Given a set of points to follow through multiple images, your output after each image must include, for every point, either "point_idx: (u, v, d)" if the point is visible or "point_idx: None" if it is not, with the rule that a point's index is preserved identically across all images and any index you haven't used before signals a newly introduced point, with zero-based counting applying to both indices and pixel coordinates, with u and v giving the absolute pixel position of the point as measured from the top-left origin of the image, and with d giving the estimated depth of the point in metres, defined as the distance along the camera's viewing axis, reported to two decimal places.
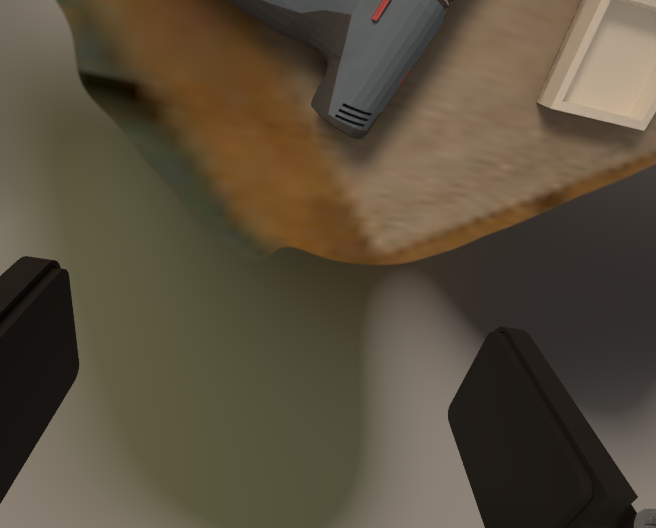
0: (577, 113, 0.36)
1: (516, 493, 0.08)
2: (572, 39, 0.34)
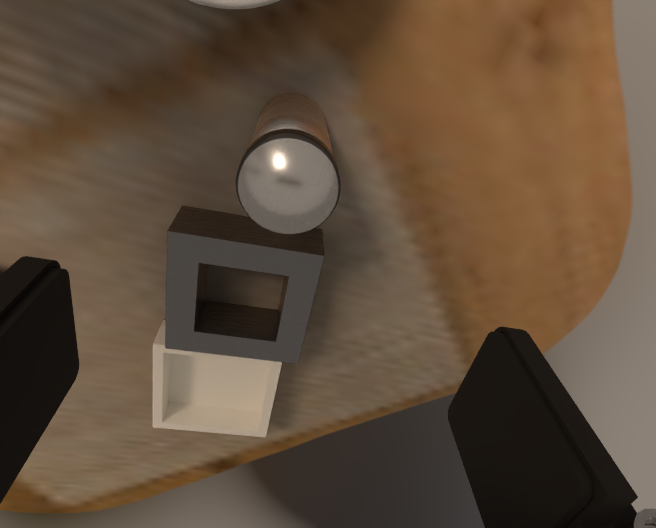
0: (184, 429, 0.34)
1: (517, 494, 0.08)
2: None
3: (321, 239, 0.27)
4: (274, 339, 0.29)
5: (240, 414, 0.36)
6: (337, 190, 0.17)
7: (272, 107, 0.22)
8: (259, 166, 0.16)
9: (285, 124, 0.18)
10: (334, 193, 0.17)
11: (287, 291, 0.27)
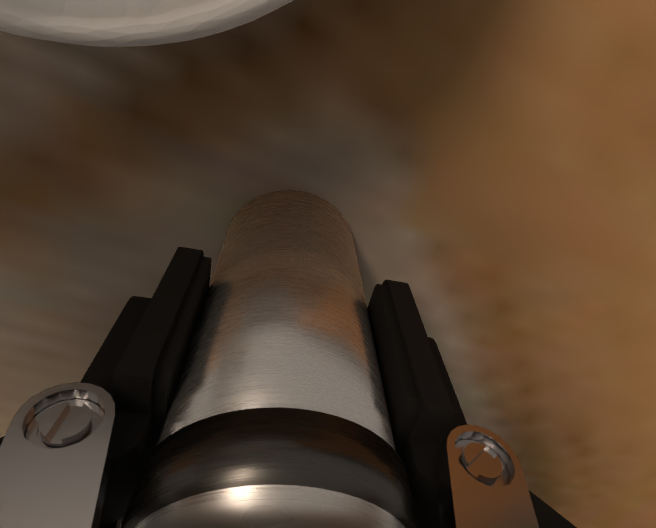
0: None
1: None
2: None
3: None
4: None
5: None
6: None
7: (247, 237, 0.10)
8: None
9: (266, 356, 0.07)
10: None
11: None
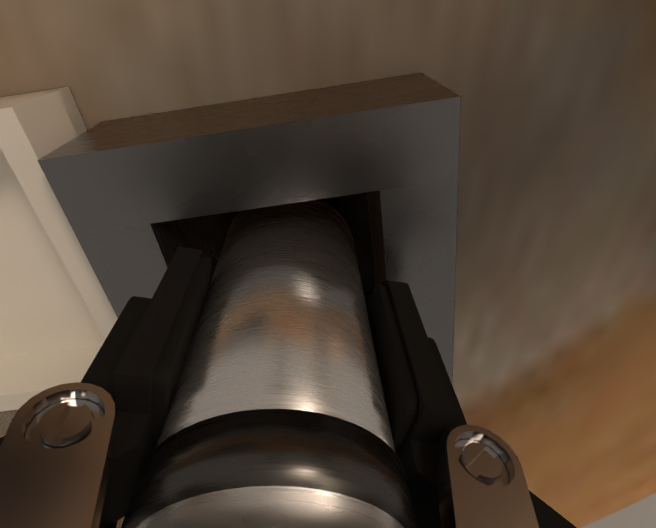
0: None
1: None
2: None
3: None
4: None
5: None
6: None
7: (246, 238, 0.10)
8: None
9: (265, 357, 0.07)
10: None
11: None
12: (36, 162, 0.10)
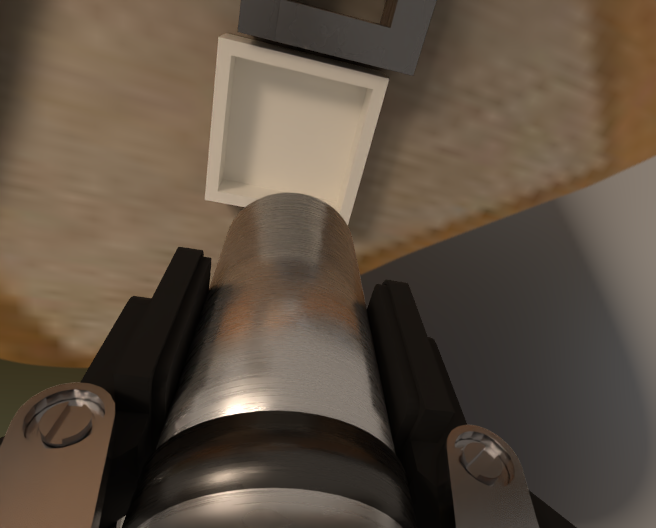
0: (245, 205, 0.26)
1: None
2: None
3: None
4: (387, 27, 0.21)
5: None
6: None
7: (246, 239, 0.10)
8: None
9: (265, 359, 0.07)
10: None
11: None
12: (243, 45, 0.22)
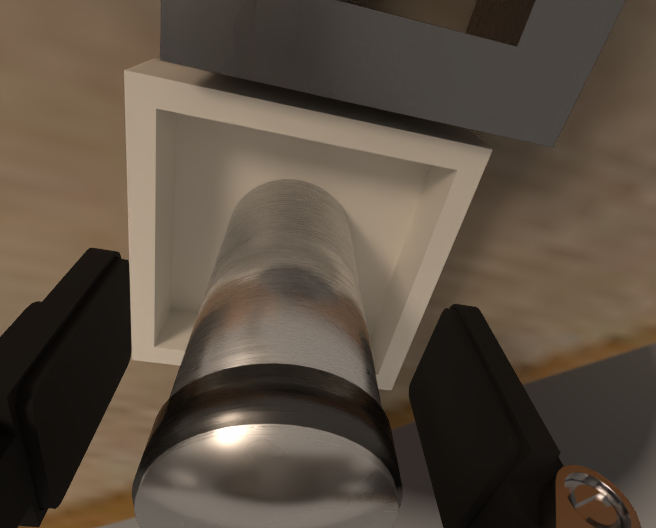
0: None
1: (460, 458, 0.08)
2: None
3: None
4: (507, 44, 0.09)
5: None
6: None
7: (248, 222, 0.11)
8: (188, 484, 0.06)
9: (265, 322, 0.07)
10: (387, 519, 0.07)
11: None
12: (180, 86, 0.10)
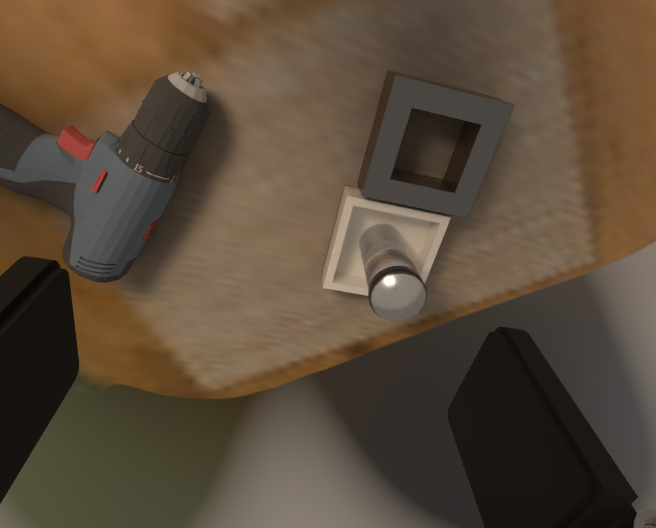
0: (349, 291, 0.39)
1: (517, 494, 0.08)
2: (335, 231, 0.38)
3: (502, 100, 0.32)
4: (452, 192, 0.34)
5: None
6: (425, 299, 0.31)
7: (375, 237, 0.36)
8: (385, 287, 0.31)
9: (394, 259, 0.32)
10: (423, 300, 0.31)
11: (476, 140, 0.32)
12: (361, 199, 0.35)
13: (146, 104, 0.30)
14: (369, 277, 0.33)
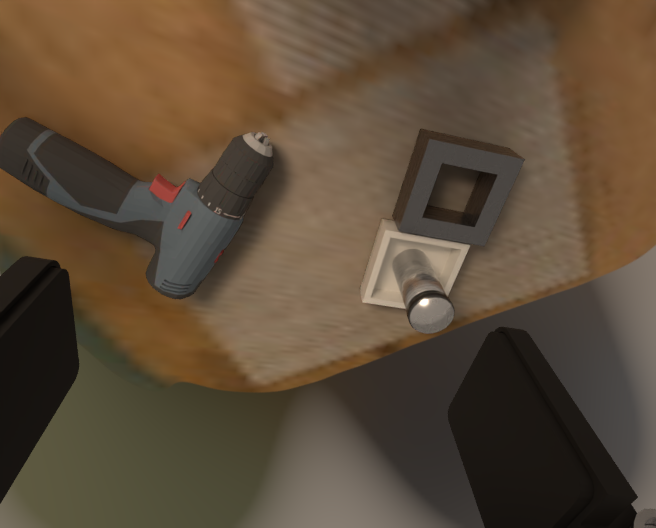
0: (384, 304, 0.47)
1: (517, 493, 0.08)
2: (373, 256, 0.45)
3: (514, 152, 0.40)
4: (472, 226, 0.41)
5: None
6: (453, 316, 0.39)
7: (408, 262, 0.43)
8: (421, 308, 0.38)
9: (427, 284, 0.40)
10: (451, 317, 0.39)
11: (493, 186, 0.39)
12: (397, 232, 0.42)
13: (225, 160, 0.37)
14: (406, 298, 0.40)
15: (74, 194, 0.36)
